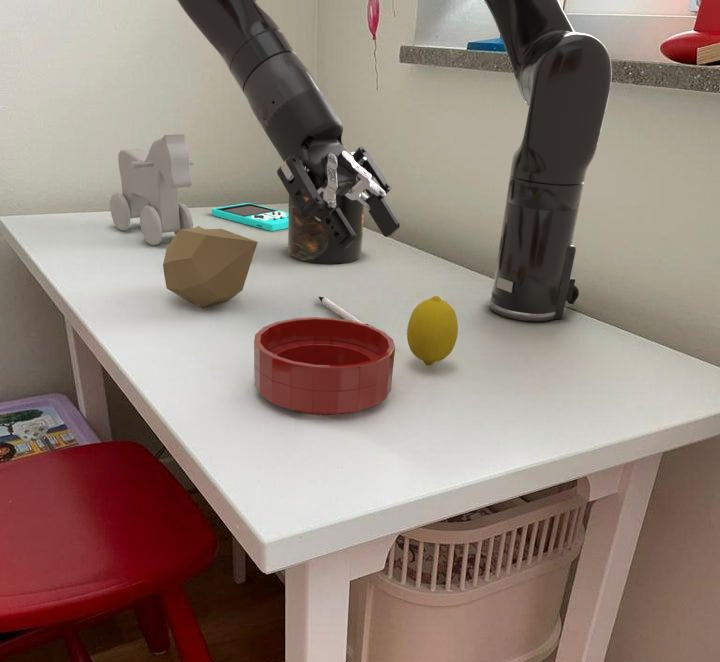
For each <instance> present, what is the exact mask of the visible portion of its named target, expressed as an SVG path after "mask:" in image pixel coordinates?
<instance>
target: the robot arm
mask: <svg viewBox="0 0 720 662" xmlns="http://www.w3.org/2000/svg"><path fill="white" fill-rule="evenodd" d="M256 1H257V0H177V2H178V4H179V6H180V7H181V8H182V10H183V11H184V13H185V14H186V15H187V16H188V18H189V19H190V20H191V22H192V23H193V24H194V25H195V27H196V28H197V30H199V31H200V33H201V34H202V35H203V36H204V37H205V38H206V40H207V41H208V42H209V43H210V44H211V45H212V47H213V48H214V49H215V50H216V52H217V53H218V54H219V55H220V57H221V58H222V60H223V61H224V63H225V65H226V67H227V68H228V70H229V73H230V74H231V75H232V77H233V79H234V80H235V82H236V83H237V85H238V86H239V88H240V90H241V92H242V93H243V95H244V97H245V98H246V100H247V102H248V104H249V107H250V109H251V111H252V113H253V115H254V116H255V118H256V119H257V122H258V123H259V124H260V126H261V128H262V129H263V131H264V132H265V134H266V136H267V137H268V139H269V141H270V142H271V144H272V145H273V148H275V150H276V152H277V153H278V155H279V157H280V158H281V160H282V161H283V162H282V164H281V165H280V167H278V168H277V170H276V174H277V176H278V178H279V179H280V181H281V183H282V184H283V187H284V188H285V189H286V191H287V193H288V196H289V195H290V197H291V198H292V200H293V202H294V204H295V205H296V207H297V209H298V211H299V212H300V214H301V215H302V216H303V217H304V218H309V217H310V216H314V217H315V218H316V219H317V220H318V221H322V223H323V224H324V226H325V227H326V229H327V231H328V232H329V234H330V235H331V236H332V239H333V240H334V241H335V243H336V244H337V245H338V247H339V248H340V249H345V248H348V247H349V246H350V245H351V244H352V243H353V242H354V241H355V240H356V234H355V233H354V231H353V229H352V228H351V226H350V225H349V223H348V221H347V220H346V218H345V217H344V215H343V213H342V212H341V210H340V209H339V208H336V209H335V207H336V197H335V195H345V196H346V197H348V198H349V199H350V200H358V201H359V202H360V203H362V204H363V205H364V208H367V209H368V213H369V215H370V216H371V218H372V219H373V221H374V223H375V224H376V226H377V228H378V229H379V231H380V232H381V234H382V235H383V237H385V238H388V237H391V236H393V234H395V233H396V232H397V231H398V230H399V229H400V227H401V225H400V222H399V220H398V218H397V217H396V215H395V214H394V212H393V210H392V208H391V207H390V206H389V204H388V202H387V201H386V196H387V194H388V193H389V192H390V191H391V190H392V186H391V184H390V182H389V181H388V179H387V177H386V176H385V175H384V173H383V171H382V170H381V169H380V167H379V166H378V164H377V163H376V161H375V159H374V158H373V156H372V155H371V154H370V152H369V150H368V149H367V148H366V147H365V146H363V145H360V146H359V147H358V148H356V150H355V151H352V152H351V151H350V150H349V149H348V148H347V147H346V146H345V144H344V143H343V142H342V136H343V132H344V125H343V123H342V120H341V119H340V118H339V116H338V115H337V113H336V111H335V110H334V108H333V107H332V105H331V103H330V101H329V100H328V98H327V97H326V95H325V93H324V92H323V90H322V89H321V87H320V85H319V84H318V82H317V81H316V79H315V78H314V76H313V74H312V73H311V72H310V70H309V69H308V68H307V66H306V65H305V64H304V63H303V62H302V60H301V59H300V58H299V56H298V55H297V53H296V51H295V50H294V48H293V46H292V45H291V43H290V42H289V40H288V39H287V37H286V36H285V33H284V32H283V30H281V28H280V26H279V25H278V24H277V22H276V21H275V20H274V19H273V17H272V16H271V15H270V14H268V13H267V12H266V11H265V10H264V9H263V8H262V7H261V6H260V5H259V4H258V3H257V2H256ZM483 1H484V3H485V5H486V6H487V9H488V10H489V12H490V14H491V16H492V19H493V20H494V22H495V24H496V25H495V26H496V27H497V30H498V33H499V35H500V37H501V40H502V44H503V46H504V49H505V52H506V55H507V57H508V60H509V63H510V66H511V69H512V73H513V75H514V79H515V80H516V84H517V87H518V90H519V93H520V95H521V97H522V100H524V102H525V104H526V105H527V106H528V111H527V115H526V122H525V127H524V133H523V137H522V140H521V142H520V145H519V147H518V148H517V149H516V151H515V152H514V154H513V156H512V161H511V166H510V171H509V174H510V175H509V179H508V185H507V193H506V200H505V207H504V214H503V220H502V226H501V232H500V239H499V247H498V253H497V257H496V258H497V259H496V265H495V270H494V271H495V273H494V279H493V286H492V290H491V297H490V300H489V309H490V310H491V311H493V312H494V313H496V314H498V315H499V316H503V317H505V318H508V319H513V320H518V321H525V322H546V321H551V320H555V319H557V320H559V319H560V320H562V319H563V316H564V312H565V311H564V310H565V305H566V303H568V304H569V305H574V304H575V302H576V301H577V299H578V298H579V296H580V292H579V288H578V287H577V286H576V278H575V277H574V276H572V272H573V266H574V261H575V256H576V251H577V248H576V246H575V245H574V244H573V239H574V236H575V230H576V225H577V219H578V214H579V210H580V209H579V208H580V204H581V199H582V194H583V190H584V189H583V188H584V184H585V183H584V182H585V179H586V174H587V171H588V169H589V166H590V165H591V163H592V162H593V160H594V157H595V155H596V151H597V148H598V144H599V139H600V137H601V136H600V135H601V132H602V128H603V123H604V119H605V115H606V111H607V106H608V102H609V97H610V91H611V86H612V77H613V76H612V75H613V74H612V73H613V70H612V67H613V66H612V61H611V56H610V54H609V51H608V50H607V48H606V46H605V45H604V44H603V43H602V41H600V40H599V39H598V38H596V37H595V36H593V35H590V34H587V33H583V32H576V31H575V30H574V28H573V26H572V24H571V22H570V21H569V19H568V17H567V15H566V14H565V12H564V10H563V8H562V6H561V3H560V1H559V0H483ZM356 177H357V179H358V180H359V182H358V183H357V184H356ZM373 179H375V180H376V182H377V183H376V182H375V181H374V180H373ZM355 184H356V185H355ZM354 185H355V186H354ZM353 186H354V187H353ZM364 190H365V194H364V193H363V191H364ZM304 191H305V192H306V194H307V196H308V197H309V200H308V201H307V202H305V200H304V198H303V196H302V194H303V192H304Z"/></svg>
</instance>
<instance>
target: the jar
mask: <svg viewBox="0 0 720 662" xmlns="http://www.w3.org/2000/svg"><path fill="white" fill-rule="evenodd" d="M358 182H359V180H358V179H357V177H356V184H357V183H358ZM356 184H355V185H356ZM355 185H354V186H355ZM354 186H353V187H354ZM363 193H364V194H365V195H366V191H365V190H364V191H363ZM302 196H303V198H304V200H305V202H307V201H308V200H309V197H308V196H307V194H306V192H305V191H304V192H303V194H302ZM335 197H336V207H335V209H336V208H339V209H340V210H341V212H342V213H343V215H344V217H345V218H346V220H347V221H348V223H349V225H350V226H351V228H352V229H353V231H354V233H355V234H356V240H355V241H354V242H353V243H352V244H351V245H350V246H349V247H348V248H345V249H340V248H339V247H338V245H337V244H336V243H335V241H334V240H333V239H332V236H331V235H330V234H329V232H328V231H327V229H326V227H325V226H324V224H323V223H322V221H318V220H317V219H316V218H315V217H314V216H310V217H309V218H304V217H303V216H302V215H301V214H300V212H299V211H298V209H297V207H296V205H295V204H294V202H293V200H292V198H291V197H290V195H289V194H288V213H289V217H288V228H287V248H288V249H287V252H288V255H289V256H290V257H292V258H294V259H295V260H296V259H297V260H299V261H303V262H307V263H308V262H309V263H315V264H345V263H350V262H354V261H357V260H359V259H361V257H362V248H363V237H364V236H363V234H364V221H365V219H364V218H365V206H364V205H363V204H362V203H360V202H359V201H358V200H350V199H349V198H348V197H346V196H345V195H335Z"/></svg>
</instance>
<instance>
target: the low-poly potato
mask: <svg viewBox="0 0 720 662" xmlns="http://www.w3.org/2000/svg"><path fill="white" fill-rule="evenodd" d="M174 235H175V234H174ZM258 243H259V242H258V241H257V240H254V239H252V238H248V237H245V236H243V235H240V234H238V233H234V232H232V231H229V230H226V229H223V228H204V227H201V226H200V225H197V226H194V227H193V228H192V229H183V230H179V232H178V233H177V234H176V235H175V236H174V237H173V238H172V239H171V240H170V241H169V242H168V245H167V246H166V248H165V249H166V250H165V254H164V258H163V263H162V269H163V275H164V281H165V287H166V289H167V290H168V291H170V292H172V293H173V294H175V295H176V296H178V297H180V298H182V299H184V300H185V301H187V302H189V303H191V304H194V305H195V306H197V307H199V308H206V307H211V306H214V305H218V304H222V303H226V302H227V303H228V302H229V301H230V300H231V299H233V298H234V297H236V296H237V295H238V294H240V293H242V291H243V289H244V286H245V283H246V280H247V277H248V274H249V271H250V267H251V265H252V262H253V258H254V255H255V251H256V249H257V245H258Z"/></svg>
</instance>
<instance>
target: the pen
mask: <svg viewBox="0 0 720 662" xmlns="http://www.w3.org/2000/svg"><path fill="white" fill-rule="evenodd" d="M318 299H319V301H320V302H321V304H322V305H324V306H325V307H327V309H330V310H331V311H332V312H333V313H336V314H337V315H339V316H340V317H341V318H342V319H344V320H351V321H356V322H359V323H363V324H366V325H369V323H364V322H363V321H361V320H360V319H358V318H357V317H355V316H354V315H352V314H351V313H349V312H348V311H346V310H345V309H343V307H340V306H339V305H338V304H336V303H335V302H333V301H332V300H330V299H328V298H327V297H323V296H318Z"/></svg>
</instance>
